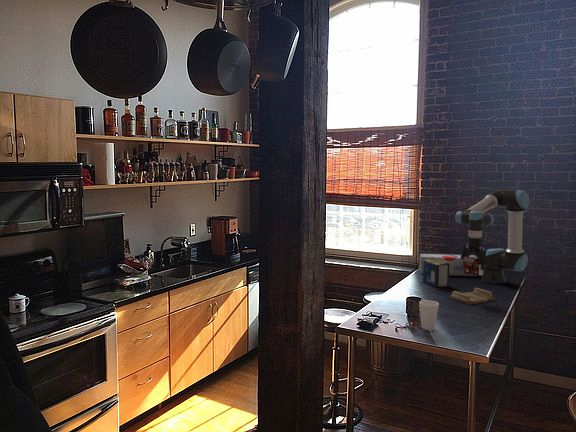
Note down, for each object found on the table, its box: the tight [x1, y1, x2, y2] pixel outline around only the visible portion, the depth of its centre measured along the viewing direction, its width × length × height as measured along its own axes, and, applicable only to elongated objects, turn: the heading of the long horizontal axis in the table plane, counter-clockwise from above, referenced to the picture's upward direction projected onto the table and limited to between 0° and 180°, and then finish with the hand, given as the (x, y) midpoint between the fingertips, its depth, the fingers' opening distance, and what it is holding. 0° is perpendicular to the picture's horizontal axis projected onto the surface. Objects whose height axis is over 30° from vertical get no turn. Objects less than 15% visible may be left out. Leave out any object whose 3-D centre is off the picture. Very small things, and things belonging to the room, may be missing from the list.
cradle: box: [449, 287, 495, 305], centre depth 295 cm, size 20×16×4 cm
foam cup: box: [418, 299, 440, 331], centre depth 243 cm, size 10×9×13 cm
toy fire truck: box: [463, 256, 485, 277], centre depth 292 cm, size 7×12×10 cm, turn 54°
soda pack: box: [418, 253, 478, 277], centre depth 360 cm, size 41×13×14 cm, turn 79°
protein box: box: [422, 259, 450, 288], centre depth 330 cm, size 10×15×16 cm
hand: (473, 273), depth 293 cm, fingers closed on toy fire truck, 11 cm apart
